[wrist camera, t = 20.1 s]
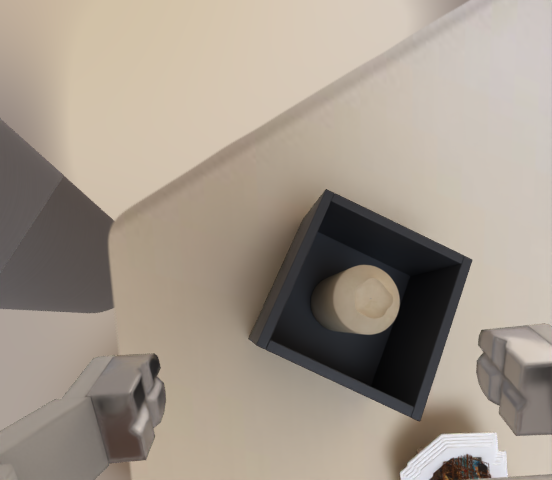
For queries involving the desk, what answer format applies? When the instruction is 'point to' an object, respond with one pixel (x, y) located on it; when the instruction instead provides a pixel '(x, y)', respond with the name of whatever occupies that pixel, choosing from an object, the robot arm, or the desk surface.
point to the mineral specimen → (458, 458)
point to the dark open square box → (359, 347)
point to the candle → (356, 301)
